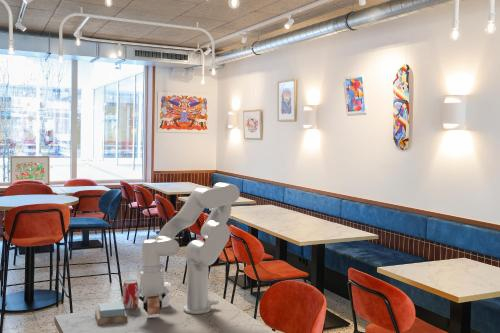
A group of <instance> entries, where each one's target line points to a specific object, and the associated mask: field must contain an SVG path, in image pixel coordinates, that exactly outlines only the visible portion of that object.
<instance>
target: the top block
mask: <svg viewBox="0 0 500 333" xmlns="http://www.w3.org/2000/svg"><path fill="white" fill-rule="evenodd" d="M125 309H126V308H125V307H124V305H123V301H115V302H114V301H113V302H105V303H104V302H103V303H101V302H100V303H99V304H98V310H99V314H100V318H105V317H116V316H125V312H126V310H125Z"/></svg>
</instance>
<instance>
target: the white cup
mask: <svg viewBox="0 0 500 333" xmlns="http://www.w3.org/2000/svg"><path fill="white" fill-rule="evenodd" d="M171 285H172V283H171V282H167V281H166V282H165V281H164V286H165V287H166V288H167V289H168V290H169V293H168V294H167V295H166V296H165V297H164V298H163V300H162V307H161V308H162V309H163V308H167V307H169V306H170V300H171ZM164 292H165V290H164ZM161 295H162V294H161Z"/></svg>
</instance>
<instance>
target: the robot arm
mask: <svg viewBox="0 0 500 333" xmlns="http://www.w3.org/2000/svg"><path fill="white" fill-rule="evenodd" d="M240 193H241V192H240V189H239V187H238V186H237V185H236V184H233V183H228V182H220V181H219V182H217V183H215V184H213V186H212V188H205V187H204V188H203V187H197V188H195V189H194V190H193V191H192V192H191V193H190V195H189V196H188V198H187V199H186V201H185V203H184V204H183V205H182V206H181V207H180V209H179V211H178V213H176V215H174V216H173V217H171V219H170V220H168V221H167V222H166V223H165V224H164V226H163V227H162V228H161V229H160V230H159V232H158V234H157V235H156V236H155V239H154V238H152V239H151V238H150V239H149V238H148V239H144V240H143V241H142V243H141V256H142V257H141V259H142V271H140V275H139V287H138V288H139V290H138V291H137V292H136V294H135V296H136V297H137V298H138V300H140V301H142V306H143V308H142V309H143V310H144V311H145V313H147V311H148V309H147V301H146V300H147V297H148V296H151V295H158V296H159V304H160V311H161V307H162V300H163V298H164V297H165V296H166V295H167V294H168V293H169V290H168V289H167V288H166V287H165V286H164V282H165V281H164V275H163V270H162V269H163V268H165V266H164V264H161V257H172V256H174V255H176V254H177V253H178V252H179V250H180V244H179V242H178V241H177V240H176V239H175V237H176V236H177V235H178V233H180V232H181V231H183V230H184V229H187V228H190V227H191V226H193V225H195V224H196V221H197V219H198V218H199V217H200V216H201V214H202V212H204V210H205V209H207V210H208V209H209V210H210V209H211V212H210V213H209V215H208V217H207V218H206V220H205V221H204V223H203V225H202V226H201V228H200V236H201V237H202V238H203V239H204V240H199V239H194V240H191V241H190V242H188V244H187V245H186V249H185V257H186V258H185V259H186V264H187V266H186V267H187V268H186V270H187V272H186V277H187V279H186V280H187V281H186V282H187V284H186V304H185V305H184V306H183V311H184V312H185V313H188V314H192V315H193V314H194V315H201V314H202V315H203V314H206V313H209V312H211V311H212V305H214V306H215V305H216V306H217V305H219V300H218V299H210V298H209V267H210V266H211V265H213V264H214V263H215V262H216V261H217V260H218V258H219V257H220V255H221V253H222V252H223V250H224V248H225V247H226V245H227V243H228V242H229V240H230V235H231V232H230V228H229V226H228V225H227V222H228V221H229V218H230V216H231V214H232V204H233V203H235V202H236V201H237V200H239V197H240ZM164 290H165V292H164ZM161 294H162V295H161Z"/></svg>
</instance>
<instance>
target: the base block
mask: <svg viewBox="0 0 500 333" xmlns="http://www.w3.org/2000/svg"><path fill="white" fill-rule="evenodd" d="M94 312H95V320H96V323H97V325H108V324H116V323H124V322H128V315H127V312H126V311H125V316H116V317H105V318H100V314H99V309H96V310H95V311H94Z"/></svg>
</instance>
